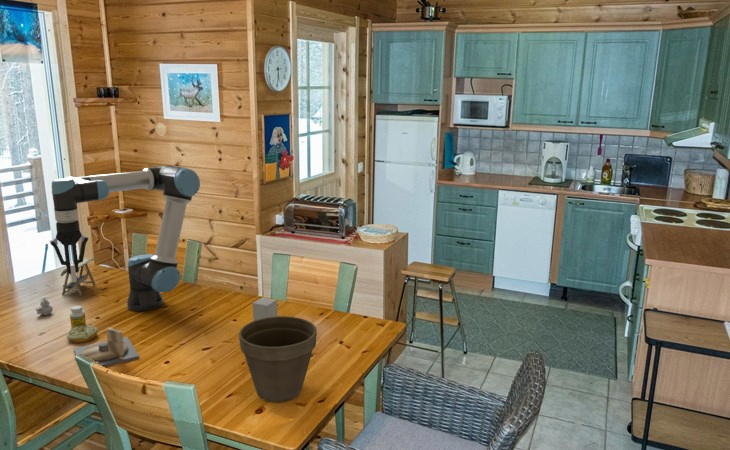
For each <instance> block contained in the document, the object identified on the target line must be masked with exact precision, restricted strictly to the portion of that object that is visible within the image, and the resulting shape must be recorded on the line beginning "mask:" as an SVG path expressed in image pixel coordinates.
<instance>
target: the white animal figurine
mask: <svg viewBox="0 0 730 450" xmlns="http://www.w3.org/2000/svg"><path fill="white" fill-rule="evenodd" d="M39 304H40V306H39V307H37V308H36V309H35V311H36V314H37V315H44V316H47V315H50V314H51V313H52V312H53V306H51V305H50V301H49V300H48V299H46V297H44V298H42V299H41V301H40V303H39Z"/></svg>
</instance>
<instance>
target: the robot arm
mask: <svg viewBox="0 0 730 450" xmlns="http://www.w3.org/2000/svg"><path fill="white" fill-rule="evenodd" d="M200 186H201V180H200V177H199V176H198V173H197V172H195V171H194V170H192V169H191V168H187V167H182V166H175V165H161V166H160V165H159V166H153V167H145V168H143V169H142V170H138V171H129V172H128V171H127V172H117V173H107V174H95V175H87V176H71V175H70V176H65V177H64V178H62V177H61V178H56V179H52V181H51V195H52V201H53V211H54V218H55V221H56V222H55V226H56V229H55V230H56V235H55V237H54V239H50V240H49V243H50V245H51V246H52V247H53V248H54V250H55V253H56V255H57V258H58V260H59V262H60V264H61V265H62V266H66V268H67V273H68V274H69V275H70V274H71V275H70V280H71V281H70V282H77V280H76V276H77V274H78V273H80V269H78V264H79V263H81V262H83V258H85V251H86V245H87V242H88V241H89V237H88V236H87V235H83V234H82V232H81V231H80V221H79V220H78V219H79V213H78V204H81V203H88V202H94V201H95V202H96V201H102V200H105V199H107V198H108V197H109V195H110V194H109V193H117V192H123V191H124V192H125V191H133V190H140V189H145V190H147V191H152V190H155V191H163V197H164V198H165V205H164V210H163V215H162V219H161V223H160V229H159V231H158V237H157V240H156V241H157V242H156V247H155V251H154V254H153V253H152V254H151V253H149V254H148V253H147V254H139V255H135V256H132V257H130V258H129V259H128V260H127V269H128V280H129V293H128V297H127V301H126V305H127V309H129V310H130V311H135V312H146V311H147V312H148V311H151V310H156V309H158V308H160V307H161V306H162V305H163V304H164V299H163V296H162V293H168V292H171V291H173V290H174V289H176V287H177V286H178V285H179V283H180V280H181V273H180V271H179V269H178V263H179V261H178V260H177V259H176V256H177V251H178V246H179V242H180V237H181V233H182V228H183V223H184V219H185V214H186V208H187V205H188V204H189V203H191V201H192V199H193V197H194V196H195V195H196V194H197V193H198V192H199V191H200V188H201V187H200ZM79 241H81V243H80V248H79V254H78V252H77V251H78V250H77V244H78V242H79ZM59 243H60V244H62V245H63V250H64V258H65V259H64V258H63V256H62V253H61V250H60V248H59V246H58V244H59ZM70 246H71V250H72V251H71V252H72V261H73V263H71V259H70V249H69V247H70ZM67 273H66V274H67ZM76 273H77V274H76Z"/></svg>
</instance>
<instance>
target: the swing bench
mask: <svg viewBox="0 0 730 450" xmlns="http://www.w3.org/2000/svg"><path fill="white" fill-rule="evenodd" d="M91 261H94V258H93V257H84V258H83V262H81V263H79V264H78V269H79V273H77V274H76V280H77V282H72V281H70V282H68V280H69V276H71V274H68V273H67V267H66V268H65V269H64V270H63V271H62V272H61V273H60V276H61V277H63V276H64V275H65V279H64V282H63V283H64V284H63V285H62V287H63V289H62V293H61V295H62V296H65V295H66V293H75V294H77V293H78V295H79V296H80V297H82V296H83V293H82V291H81V288H80V287H79V286H81V284H82V283H85V284H86V283H90V284H92V285H93V287H94V286H97V284H96V282H95V279H94V277H93V275H92V273H91V270H90V267H89V266H88V264H89V263H90V262H91ZM84 270H85V271H86V274H83V272H84ZM88 277H89V278H90V281H89V280H87V279H88ZM75 288H76V290H77V291H76V290H74V289H75Z"/></svg>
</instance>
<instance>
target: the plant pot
mask: <svg viewBox="0 0 730 450" xmlns="http://www.w3.org/2000/svg"><path fill="white" fill-rule="evenodd" d="M317 334H318V332H317V327H316V325H315V324H314V323H312V322H311V321H310V320H307V319H303V318H301V317H297V316H296V317H295V316H285V315H281V316H280V315H279V316H278V315H277V316H275V317H267V318H262V319H258V320H255V321H253V320H252V321H250V322H248V323H246V324H245V325H243V327H241V329H240V330H239V332H238V339H239V348H240V351H241V353H242V354H243V355H244V357H245V362H246V364H247V367H248V370H249V373H250V377H251V380H252V384H253V387H254V388H255V391H256V392H255V393H256V395H257V396H258V397H259V398H260V399H262V400H264V401H266V402H270V403H282V402H287V401H291V400H293V399H295V398H297V397H298V396H299V395H300V394H301V392H302V389H303V386H304V383H305V379H306V375H307V371H308V369H309V364H310V361H311V358H312V354H313V353H312V352H313V350H314V349H315V348H316V346H317V336H318V335H317Z"/></svg>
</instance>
